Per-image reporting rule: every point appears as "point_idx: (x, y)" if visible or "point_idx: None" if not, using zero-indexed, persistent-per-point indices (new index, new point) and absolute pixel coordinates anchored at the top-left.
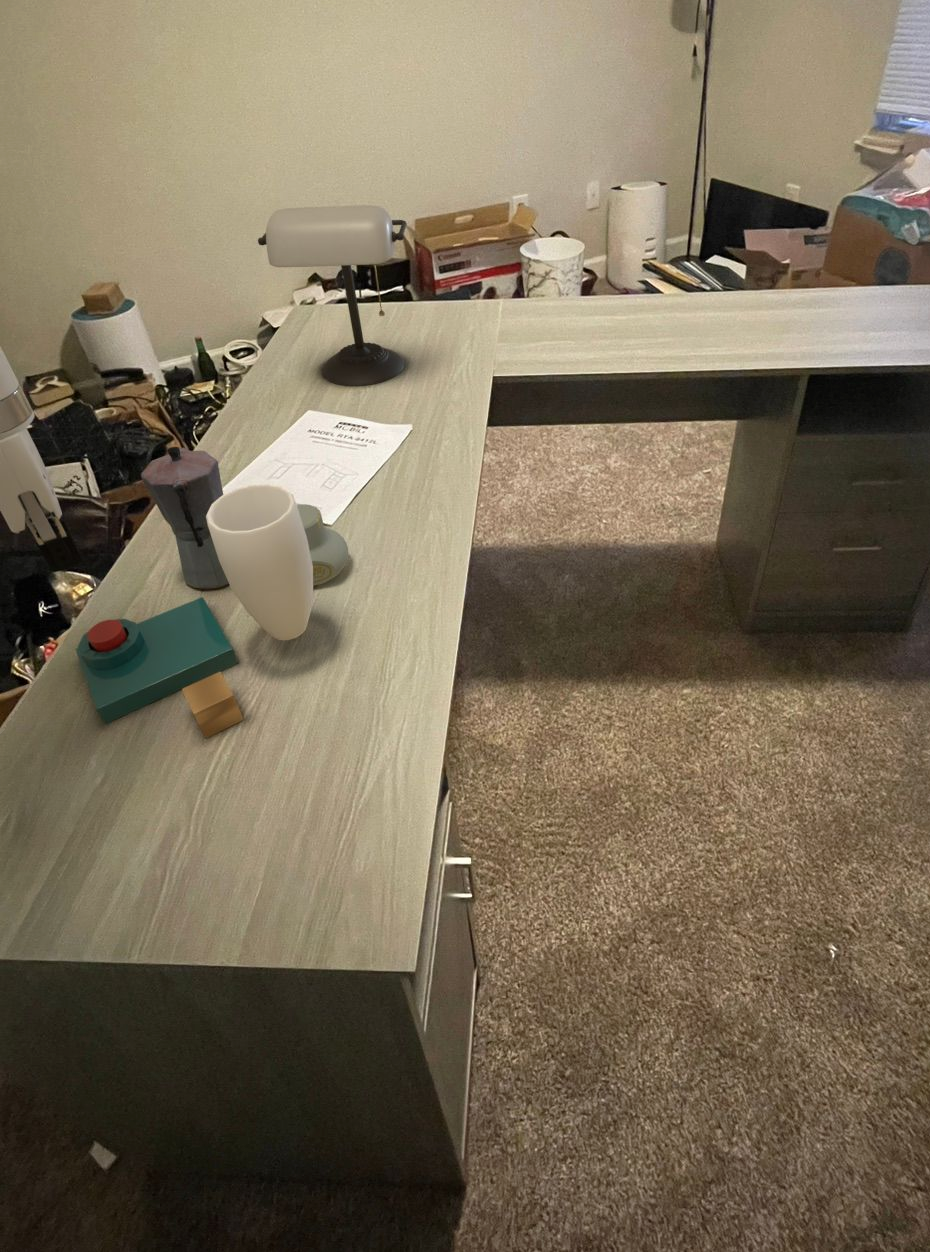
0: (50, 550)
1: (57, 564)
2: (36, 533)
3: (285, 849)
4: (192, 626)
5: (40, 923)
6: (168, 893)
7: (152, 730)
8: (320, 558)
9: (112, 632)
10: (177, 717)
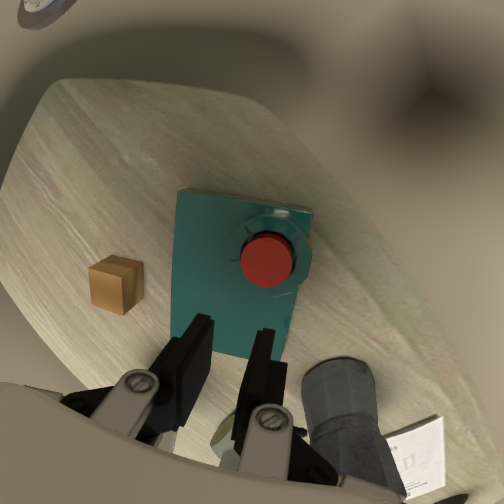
0: (152, 367)
1: (172, 337)
2: (69, 406)
3: (23, 245)
4: (235, 334)
5: (55, 96)
6: (30, 174)
7: (148, 222)
8: (214, 448)
9: (252, 270)
10: (148, 249)
